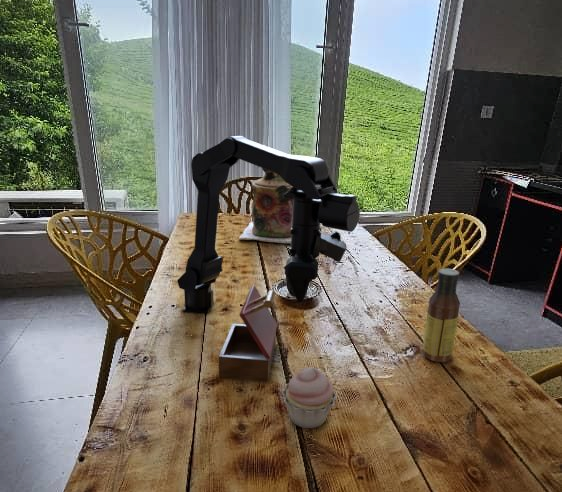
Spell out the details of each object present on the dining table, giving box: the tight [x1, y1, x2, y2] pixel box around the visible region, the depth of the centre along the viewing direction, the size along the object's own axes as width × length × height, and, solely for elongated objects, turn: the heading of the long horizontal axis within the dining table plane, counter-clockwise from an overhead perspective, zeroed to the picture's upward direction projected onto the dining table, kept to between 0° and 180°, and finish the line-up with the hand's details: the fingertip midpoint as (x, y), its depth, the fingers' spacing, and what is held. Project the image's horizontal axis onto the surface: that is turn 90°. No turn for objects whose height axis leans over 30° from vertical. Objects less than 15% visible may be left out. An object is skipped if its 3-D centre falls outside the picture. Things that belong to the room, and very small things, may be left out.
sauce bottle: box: [422, 267, 461, 363], centre depth 93 cm, size 6×6×20 cm
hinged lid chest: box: [218, 323, 277, 383], centre depth 92 cm, size 10×14×5 cm
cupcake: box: [281, 366, 338, 429], centre depth 75 cm, size 9×9×10 cm
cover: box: [239, 284, 278, 359], centre depth 88 cm, size 10×14×5 cm
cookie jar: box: [238, 168, 293, 245], centre depth 173 cm, size 25×25×32 cm
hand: (301, 292), depth 95 cm, fingers open, 9 cm apart
